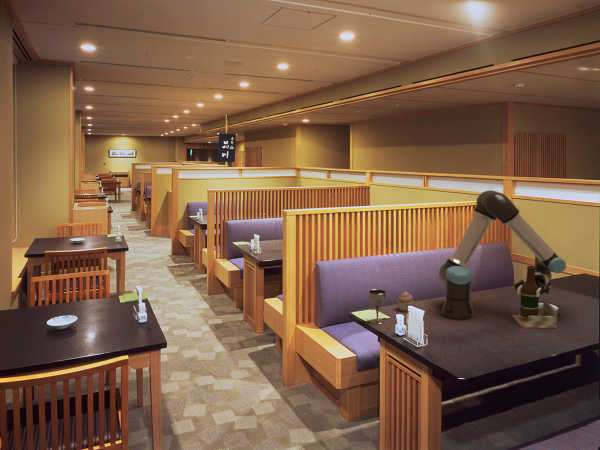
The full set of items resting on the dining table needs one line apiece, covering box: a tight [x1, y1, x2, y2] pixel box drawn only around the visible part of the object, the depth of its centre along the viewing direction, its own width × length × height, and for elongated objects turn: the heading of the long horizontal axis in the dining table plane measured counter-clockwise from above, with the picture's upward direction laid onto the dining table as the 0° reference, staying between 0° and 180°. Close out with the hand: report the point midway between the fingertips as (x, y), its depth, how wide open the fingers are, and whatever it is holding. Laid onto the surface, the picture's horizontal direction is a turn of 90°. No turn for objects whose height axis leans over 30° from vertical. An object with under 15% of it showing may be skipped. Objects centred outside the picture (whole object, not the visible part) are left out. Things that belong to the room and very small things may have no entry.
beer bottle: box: [520, 265, 540, 318], centre depth 221 cm, size 8×8×24 cm
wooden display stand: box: [512, 301, 558, 329], centre depth 223 cm, size 15×14×8 cm
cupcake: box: [396, 290, 416, 313], centre depth 245 cm, size 9×9×10 cm
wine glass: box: [368, 288, 387, 325], centre depth 229 cm, size 8×8×15 cm
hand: (527, 292), depth 218 cm, fingers closed on beer bottle, 7 cm apart
